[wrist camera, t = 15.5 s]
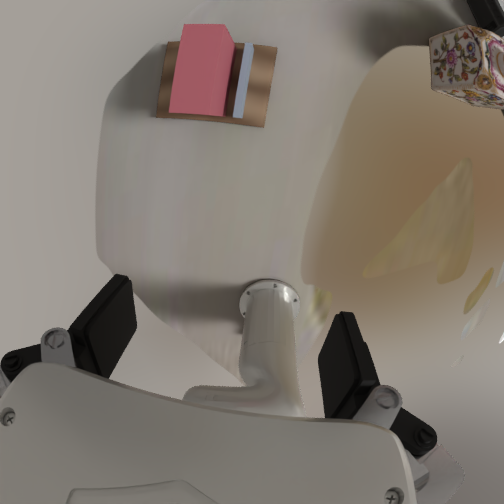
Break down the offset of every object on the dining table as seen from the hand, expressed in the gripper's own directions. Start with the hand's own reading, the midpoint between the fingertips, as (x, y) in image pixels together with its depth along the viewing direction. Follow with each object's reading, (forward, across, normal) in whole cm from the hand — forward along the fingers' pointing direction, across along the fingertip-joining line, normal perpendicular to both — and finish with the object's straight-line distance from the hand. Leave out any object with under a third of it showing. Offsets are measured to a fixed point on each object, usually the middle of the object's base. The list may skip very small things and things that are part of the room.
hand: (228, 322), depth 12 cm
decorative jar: (+36, -32, -30) cm, 57 cm away
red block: (+34, +9, -16) cm, 39 cm away
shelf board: (+36, +10, -16) cm, 40 cm away
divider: (+35, +5, -16) cm, 38 cm away
